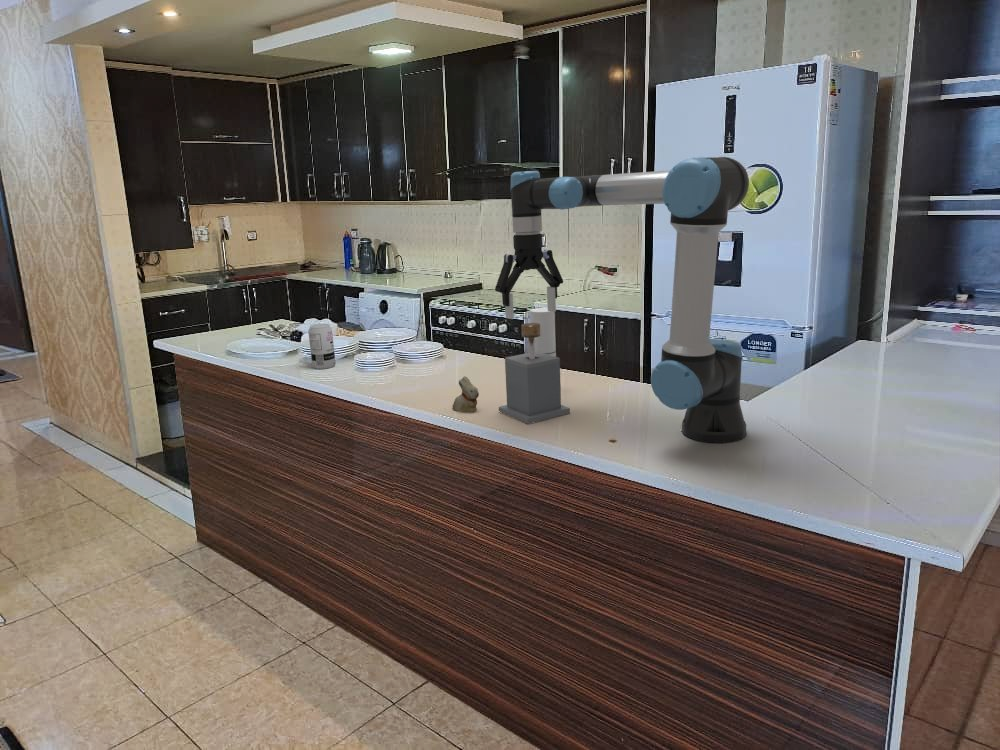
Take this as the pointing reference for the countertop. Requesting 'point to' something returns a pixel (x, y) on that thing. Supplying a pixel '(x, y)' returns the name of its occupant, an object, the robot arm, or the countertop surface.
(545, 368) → the block
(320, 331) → the supplement can
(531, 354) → the plunger
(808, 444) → the countertop surface
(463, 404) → the chocolate bunny
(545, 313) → the cylindrical container
